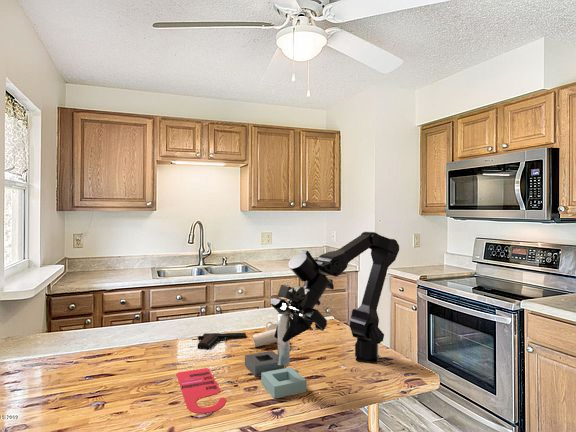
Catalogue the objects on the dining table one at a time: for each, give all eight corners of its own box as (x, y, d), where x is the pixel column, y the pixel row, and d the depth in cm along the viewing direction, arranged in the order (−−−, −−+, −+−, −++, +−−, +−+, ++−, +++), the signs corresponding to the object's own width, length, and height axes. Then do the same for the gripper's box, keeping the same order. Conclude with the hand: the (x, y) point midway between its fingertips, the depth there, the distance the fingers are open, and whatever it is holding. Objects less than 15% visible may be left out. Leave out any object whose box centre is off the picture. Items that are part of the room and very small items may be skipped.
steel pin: (289, 360, 103) (289, 312, 103) (290, 365, 100) (290, 315, 100) (277, 360, 103) (277, 312, 103) (277, 365, 100) (277, 315, 99)
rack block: (291, 377, 107) (291, 367, 107) (306, 391, 99) (306, 380, 99) (261, 383, 104) (261, 372, 104) (274, 398, 95) (274, 386, 95)
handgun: (249, 343, 132) (245, 331, 143) (197, 344, 128) (198, 332, 140) (248, 350, 132) (245, 337, 144) (197, 351, 128) (197, 338, 140)
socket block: (272, 360, 120) (272, 350, 120) (284, 371, 112) (284, 360, 112) (244, 365, 116) (244, 355, 116) (255, 376, 108) (255, 366, 108)
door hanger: (208, 367, 114) (230, 407, 91) (208, 369, 114) (230, 409, 91) (175, 372, 110) (189, 416, 87) (175, 374, 110) (189, 418, 87)
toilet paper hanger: (287, 343, 132) (283, 324, 132) (256, 352, 130) (252, 332, 130) (279, 331, 152) (275, 314, 153) (252, 339, 150) (248, 322, 151)
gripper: (275, 269, 111) (242, 313, 104) (318, 278, 96) (283, 331, 89) (296, 292, 116) (266, 336, 109) (341, 305, 101) (308, 356, 94)
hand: (279, 339), depth 100 cm, fingers closed on steel pin, 3 cm apart
